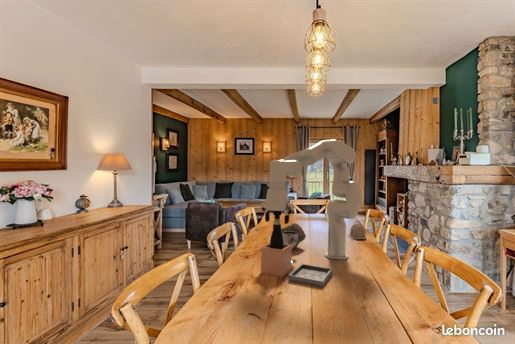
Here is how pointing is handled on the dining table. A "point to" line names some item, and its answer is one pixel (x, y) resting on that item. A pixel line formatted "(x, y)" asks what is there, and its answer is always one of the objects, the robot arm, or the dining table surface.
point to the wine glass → (290, 239)
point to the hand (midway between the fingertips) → (276, 222)
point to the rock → (297, 229)
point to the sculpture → (357, 232)
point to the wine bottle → (277, 232)
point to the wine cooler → (276, 260)
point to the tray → (311, 275)
